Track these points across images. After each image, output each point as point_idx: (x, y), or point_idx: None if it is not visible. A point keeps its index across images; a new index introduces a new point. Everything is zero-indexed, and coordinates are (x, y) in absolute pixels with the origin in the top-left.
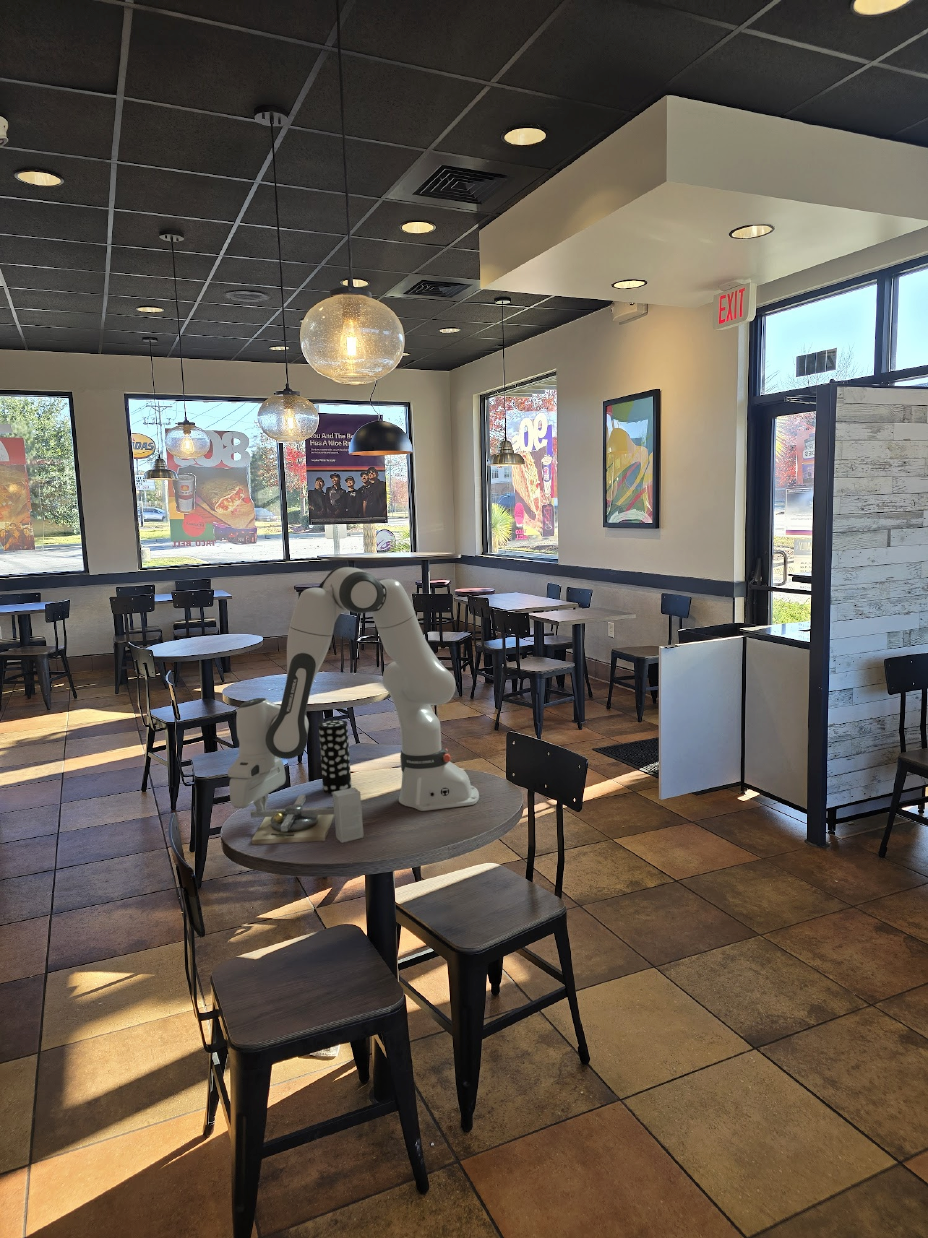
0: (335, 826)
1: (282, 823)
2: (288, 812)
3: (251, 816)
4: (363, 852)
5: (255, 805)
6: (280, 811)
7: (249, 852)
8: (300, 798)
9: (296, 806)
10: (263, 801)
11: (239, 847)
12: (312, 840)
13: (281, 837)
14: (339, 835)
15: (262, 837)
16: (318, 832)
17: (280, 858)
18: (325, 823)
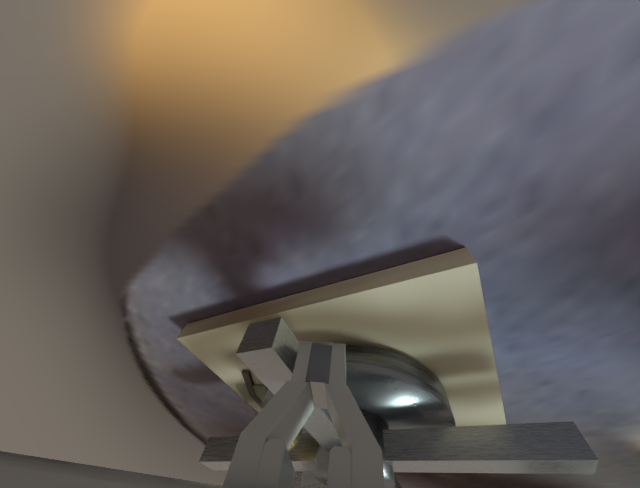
0: (322, 485)
1: (217, 462)
2: (315, 461)
3: (249, 332)
4: None
5: (276, 397)
6: (317, 441)
7: (148, 339)
8: (521, 468)
9: None
10: (339, 434)
11: (145, 300)
12: None
13: (244, 394)
14: (306, 472)
15: (211, 357)
16: None
17: (180, 399)
18: None
